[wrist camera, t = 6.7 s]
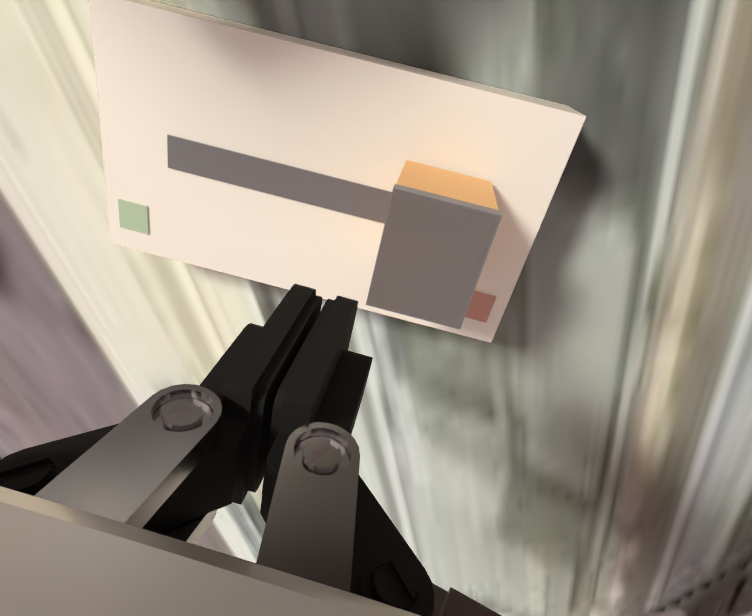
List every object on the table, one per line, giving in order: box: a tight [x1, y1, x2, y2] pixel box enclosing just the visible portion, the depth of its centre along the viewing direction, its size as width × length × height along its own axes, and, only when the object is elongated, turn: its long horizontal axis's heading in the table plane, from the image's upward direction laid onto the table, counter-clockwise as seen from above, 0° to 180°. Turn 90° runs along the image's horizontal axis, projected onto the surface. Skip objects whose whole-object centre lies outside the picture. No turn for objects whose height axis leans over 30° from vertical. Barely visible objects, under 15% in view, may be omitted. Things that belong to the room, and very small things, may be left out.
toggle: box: [366, 160, 502, 329], centre depth 21 cm, size 4×5×5 cm
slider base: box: [89, 0, 586, 343], centre depth 25 cm, size 22×12×4 cm, turn 78°
